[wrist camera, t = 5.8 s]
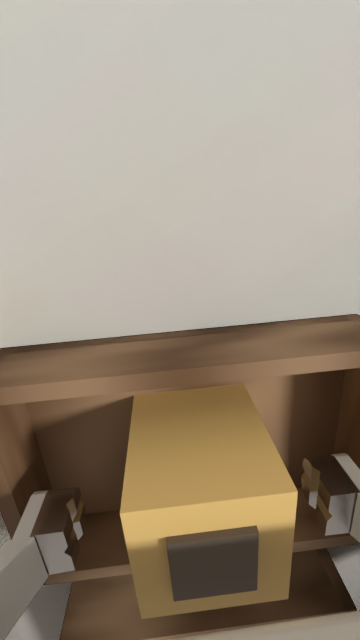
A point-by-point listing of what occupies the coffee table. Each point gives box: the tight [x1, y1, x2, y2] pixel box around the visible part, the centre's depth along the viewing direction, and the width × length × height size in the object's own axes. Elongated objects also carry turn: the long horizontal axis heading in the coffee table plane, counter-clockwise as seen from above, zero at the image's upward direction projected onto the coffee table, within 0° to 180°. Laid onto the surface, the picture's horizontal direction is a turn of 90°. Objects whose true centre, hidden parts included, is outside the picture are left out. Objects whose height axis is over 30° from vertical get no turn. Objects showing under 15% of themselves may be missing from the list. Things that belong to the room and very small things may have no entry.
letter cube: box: [120, 384, 298, 619], centre depth 11 cm, size 5×4×5 cm
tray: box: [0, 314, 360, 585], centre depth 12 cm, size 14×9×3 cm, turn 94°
